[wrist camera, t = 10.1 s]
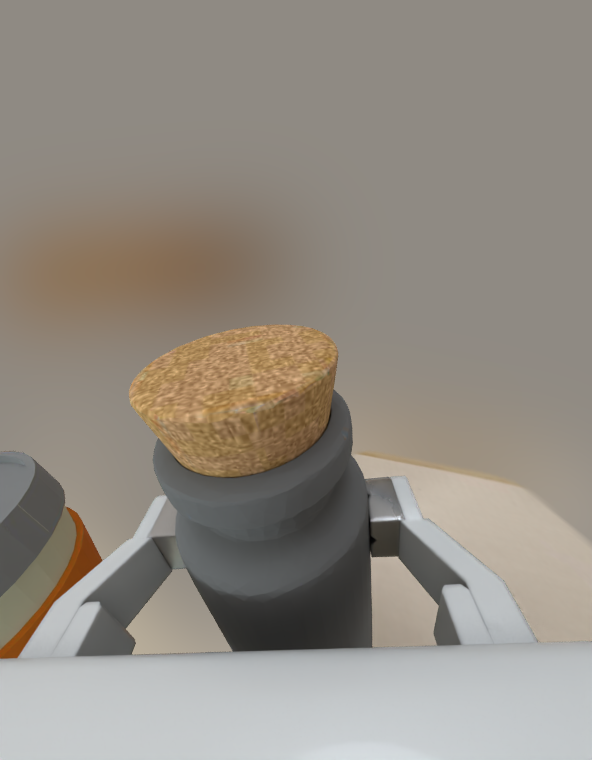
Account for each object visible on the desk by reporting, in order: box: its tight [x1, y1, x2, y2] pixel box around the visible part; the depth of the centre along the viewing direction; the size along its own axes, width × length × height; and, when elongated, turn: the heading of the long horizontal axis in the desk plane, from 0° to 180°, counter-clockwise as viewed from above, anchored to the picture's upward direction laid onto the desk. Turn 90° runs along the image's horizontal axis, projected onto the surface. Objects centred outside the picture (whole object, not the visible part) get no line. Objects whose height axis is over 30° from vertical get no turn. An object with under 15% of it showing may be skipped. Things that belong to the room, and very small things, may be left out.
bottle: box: [129, 325, 372, 652], centre depth 10 cm, size 6×6×15 cm
